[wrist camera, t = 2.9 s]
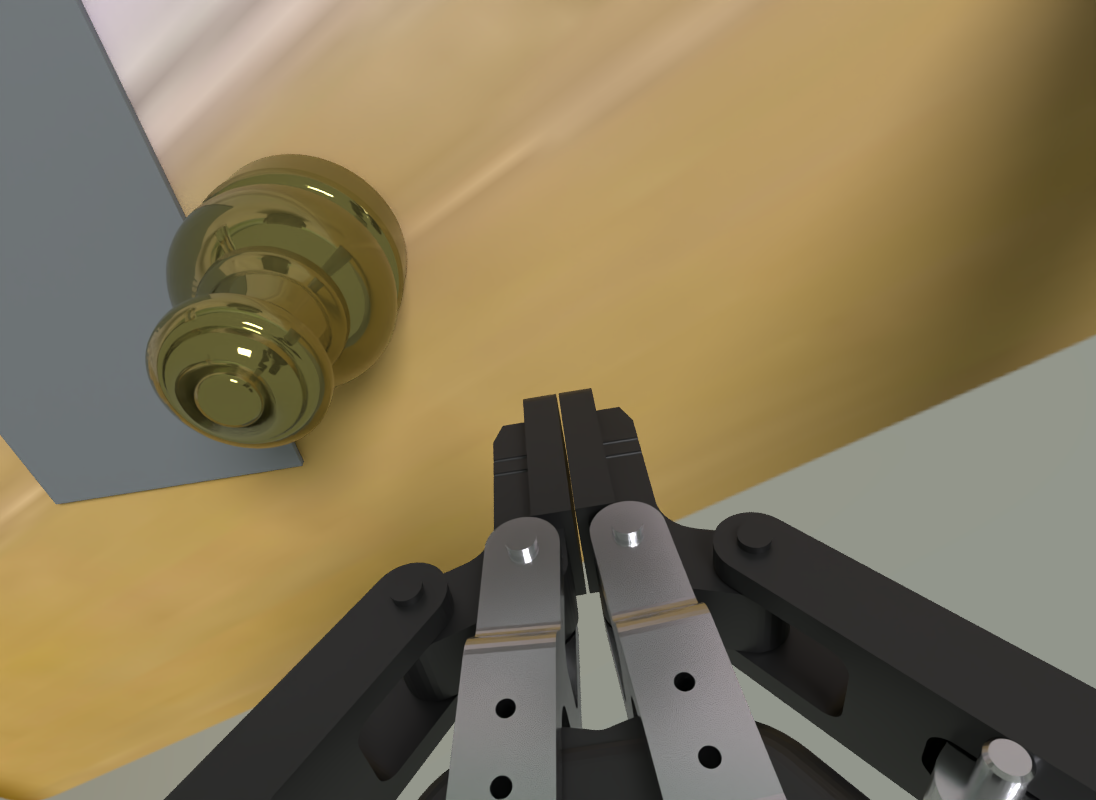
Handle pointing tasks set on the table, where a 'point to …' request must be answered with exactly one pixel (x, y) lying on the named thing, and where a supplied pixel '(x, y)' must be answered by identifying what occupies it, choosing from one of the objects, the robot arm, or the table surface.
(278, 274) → the brass door knob
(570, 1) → the table surface
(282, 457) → the mat
